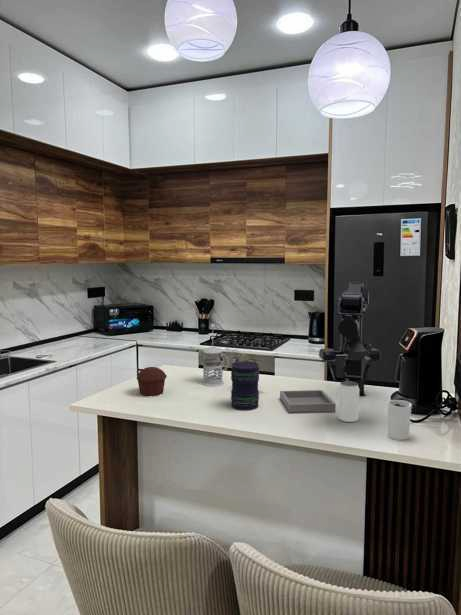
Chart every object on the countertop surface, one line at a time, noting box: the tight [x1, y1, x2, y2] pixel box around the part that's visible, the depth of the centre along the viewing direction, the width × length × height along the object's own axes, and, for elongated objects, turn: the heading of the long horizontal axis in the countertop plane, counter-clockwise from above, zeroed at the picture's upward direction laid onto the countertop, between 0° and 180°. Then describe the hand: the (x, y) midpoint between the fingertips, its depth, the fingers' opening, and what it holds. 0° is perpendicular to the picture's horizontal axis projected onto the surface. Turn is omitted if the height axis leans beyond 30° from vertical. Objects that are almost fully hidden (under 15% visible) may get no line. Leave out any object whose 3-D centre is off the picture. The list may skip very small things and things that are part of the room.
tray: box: [279, 389, 337, 414], centre depth 165 cm, size 16×16×3 cm
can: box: [337, 380, 360, 423], centre depth 151 cm, size 6×6×12 cm
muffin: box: [136, 366, 168, 397], centre depth 179 cm, size 12×11×10 cm
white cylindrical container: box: [387, 399, 412, 441], centre depth 137 cm, size 7×7×10 cm
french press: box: [200, 323, 230, 388], centre depth 192 cm, size 10×12×25 cm
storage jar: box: [230, 361, 260, 411], centre depth 163 cm, size 10×10×15 cm
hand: (348, 380), depth 150 cm, fingers open, 9 cm apart
